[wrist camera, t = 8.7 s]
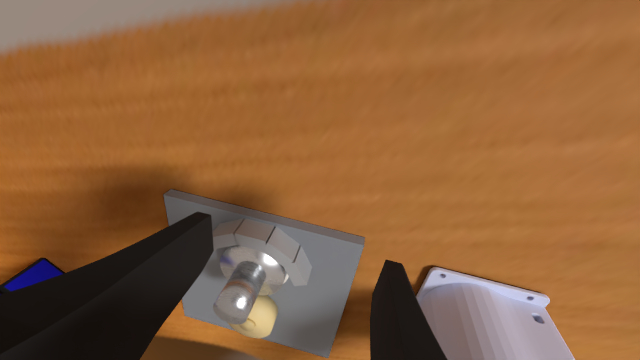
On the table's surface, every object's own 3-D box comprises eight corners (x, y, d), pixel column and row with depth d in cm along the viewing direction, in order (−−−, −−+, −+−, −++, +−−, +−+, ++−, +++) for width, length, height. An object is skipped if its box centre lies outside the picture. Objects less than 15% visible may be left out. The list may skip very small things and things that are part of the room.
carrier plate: (364, 237, 23) (362, 267, 20) (329, 349, 32) (324, 381, 29) (170, 188, 25) (142, 210, 22) (189, 308, 34) (171, 334, 31)
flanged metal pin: (289, 242, 24) (266, 295, 19) (288, 288, 27) (267, 344, 22) (225, 229, 24) (187, 277, 20) (230, 275, 27) (199, 326, 23)
